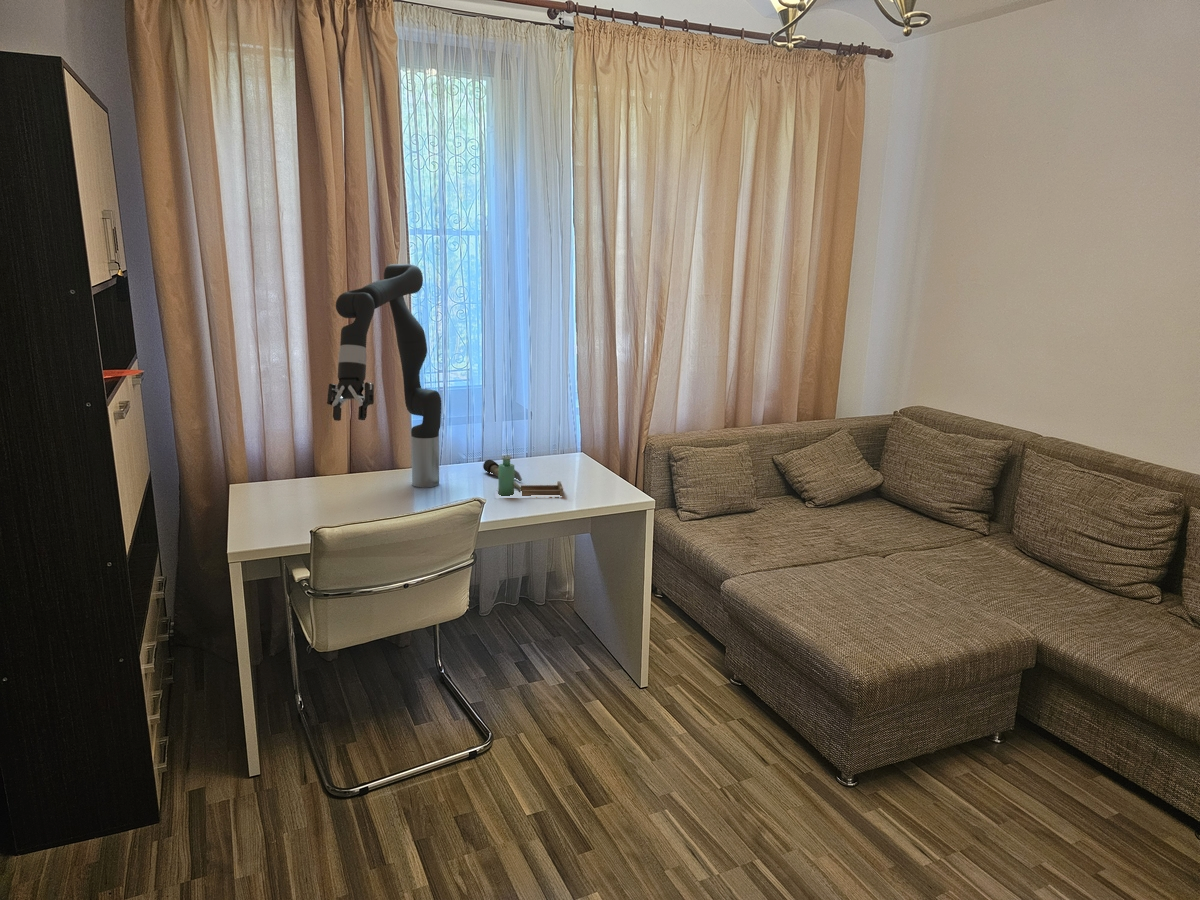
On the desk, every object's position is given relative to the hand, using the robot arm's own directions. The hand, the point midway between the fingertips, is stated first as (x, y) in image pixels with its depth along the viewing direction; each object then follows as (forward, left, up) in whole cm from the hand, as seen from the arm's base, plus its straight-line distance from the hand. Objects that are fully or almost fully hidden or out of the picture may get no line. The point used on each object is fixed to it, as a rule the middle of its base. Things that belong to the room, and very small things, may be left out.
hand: (349, 420), depth 229 cm
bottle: (-30, +45, -31) cm, 62 cm away
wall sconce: (-48, +46, -31) cm, 74 cm away
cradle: (-30, +52, -32) cm, 68 cm away
